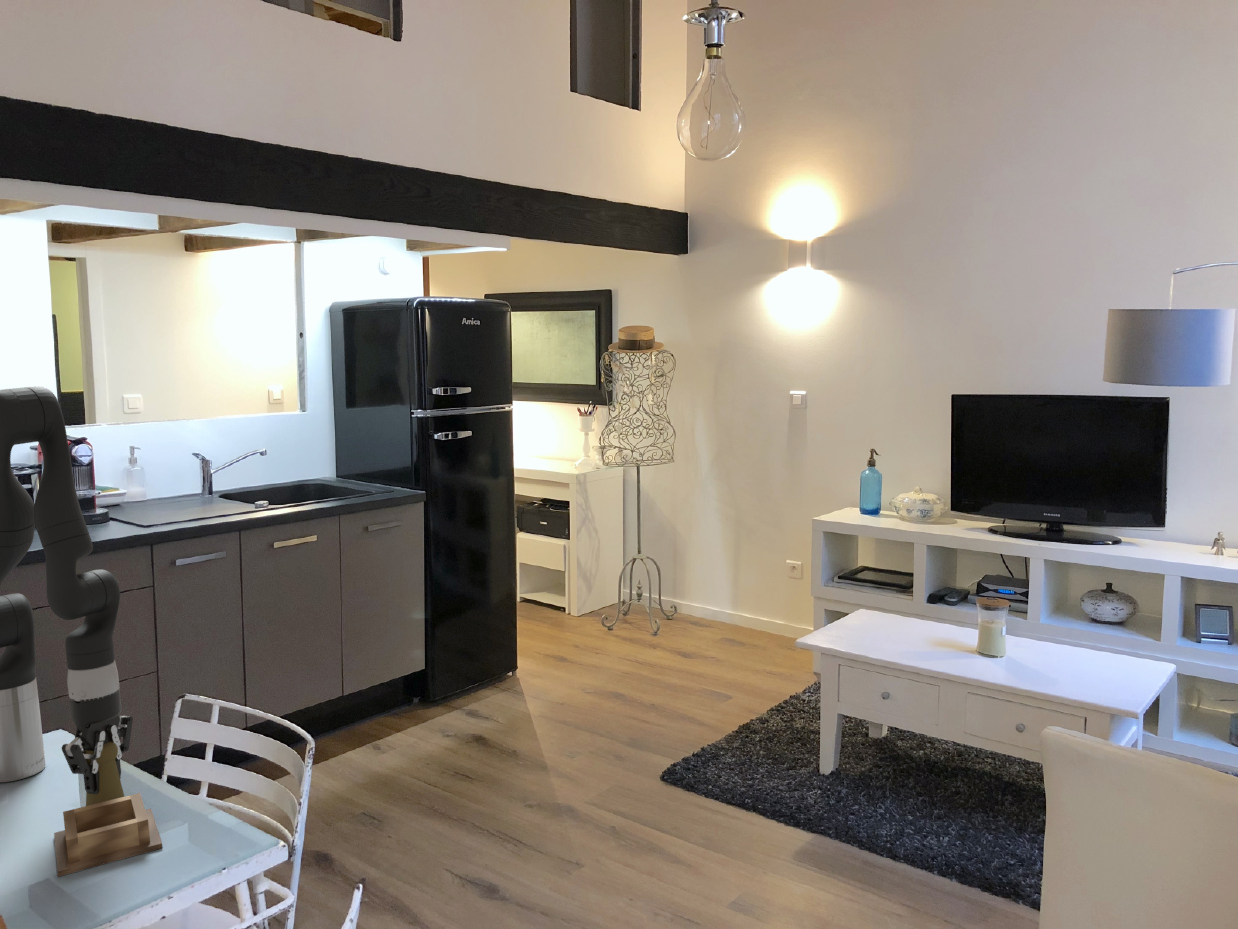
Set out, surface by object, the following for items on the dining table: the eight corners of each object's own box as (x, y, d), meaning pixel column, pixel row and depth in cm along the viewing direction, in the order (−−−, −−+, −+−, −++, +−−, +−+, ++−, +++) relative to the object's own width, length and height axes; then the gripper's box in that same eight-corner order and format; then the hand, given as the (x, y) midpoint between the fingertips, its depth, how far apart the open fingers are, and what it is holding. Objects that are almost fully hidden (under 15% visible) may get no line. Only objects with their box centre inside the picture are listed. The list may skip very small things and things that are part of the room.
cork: (85, 816, 159) (78, 753, 158) (86, 802, 164) (79, 740, 163) (125, 807, 162) (119, 745, 160) (125, 793, 167) (119, 733, 166)
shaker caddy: (58, 877, 140) (54, 848, 140) (54, 837, 152) (51, 810, 152) (162, 848, 148) (159, 820, 147) (151, 812, 160) (149, 787, 159)
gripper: (106, 674, 168) (115, 767, 170) (41, 704, 155) (52, 805, 157) (143, 676, 167) (152, 770, 169) (80, 706, 153) (91, 808, 155)
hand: (103, 786), depth 163 cm, fingers closed on cork, 4 cm apart
